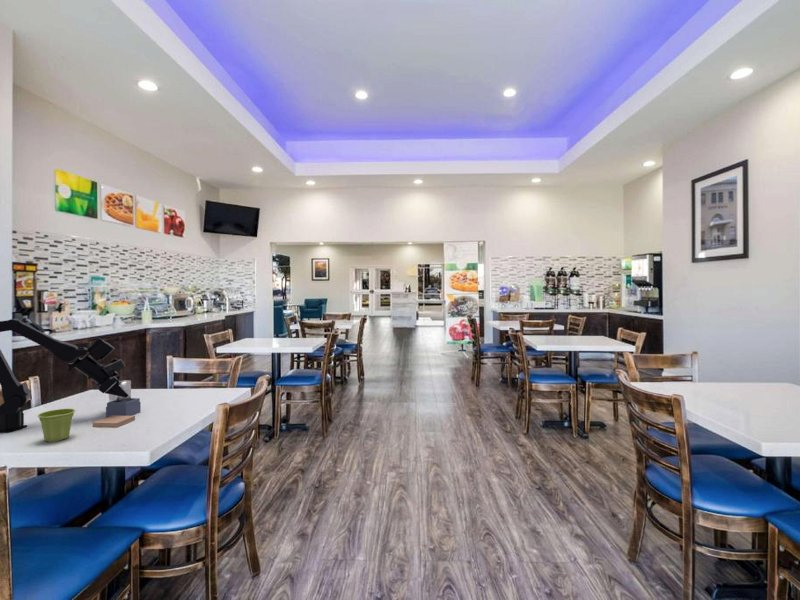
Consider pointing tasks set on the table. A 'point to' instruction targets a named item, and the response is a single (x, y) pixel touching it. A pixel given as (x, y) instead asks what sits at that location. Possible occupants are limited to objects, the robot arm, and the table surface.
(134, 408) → the dark blue ridged block
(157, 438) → the table surface
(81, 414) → the table surface
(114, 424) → the tan flat square slab
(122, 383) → the silver metal cylinder
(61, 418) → the plant pot
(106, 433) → the table surface
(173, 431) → the table surface
